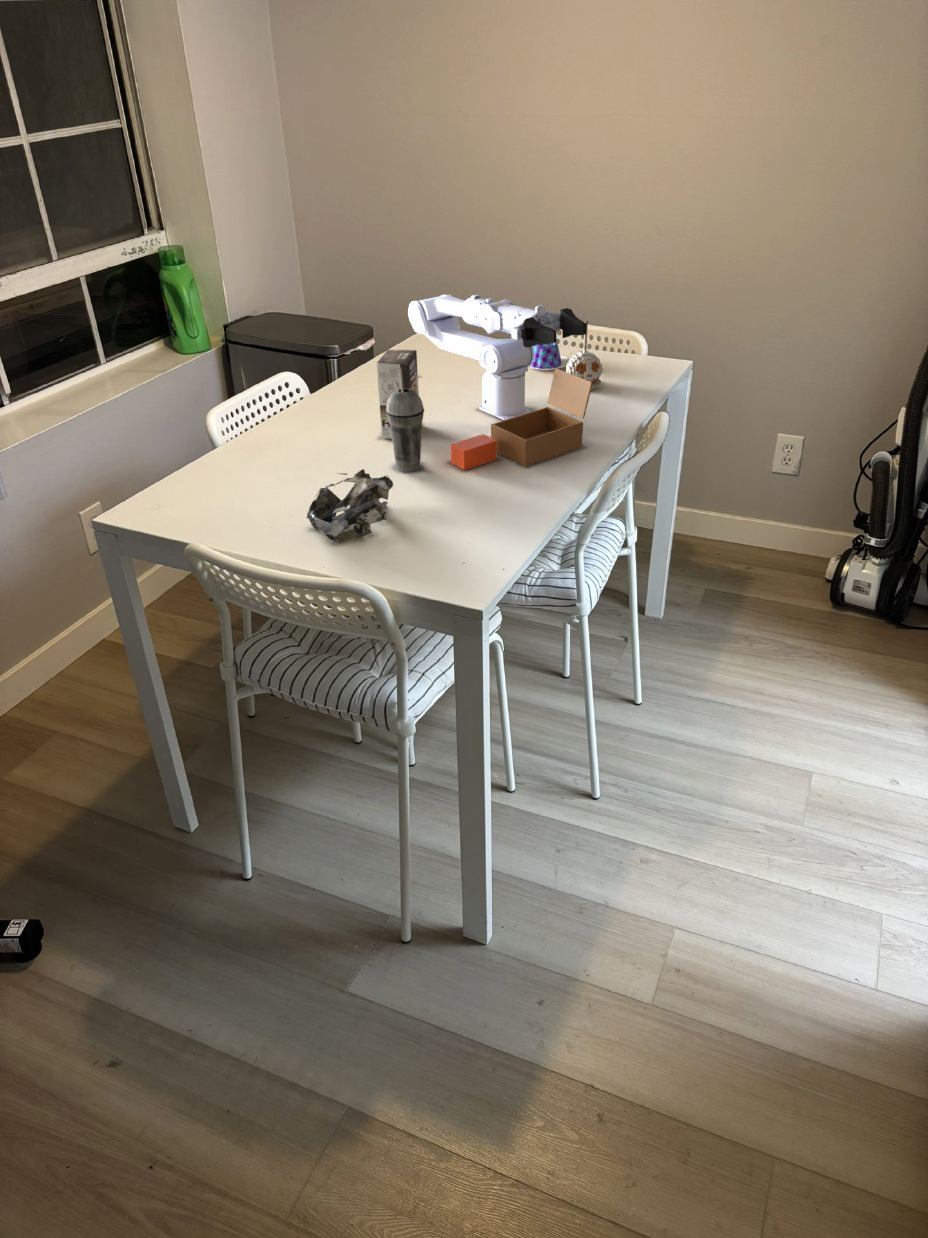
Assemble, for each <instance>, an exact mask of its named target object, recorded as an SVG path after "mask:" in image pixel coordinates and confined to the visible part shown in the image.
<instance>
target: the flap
mask: <svg viewBox="0 0 928 1238" xmlns="http://www.w3.org/2000/svg"><path fill="white" fill-rule="evenodd" d="M592 384H593V382H591V381H588V380H586V379H583V378H581V377H578V376H575V375H573V374H570V373H567V372H566V370H562V369H561V368H559V369H557V368H555V369H554V372H553V377H552V381H551V386H550V390H549V394H548V398H547V405H549V406H552V407H554V408H557V409H559V410H561V411H564V412H566V413H568V414H570V415H573V416H576V417H578V418H580V419H582V420H584V419H585V416H586V413H587V408H588V404H589V401H590V395H591V392H592V389H593V388H592ZM591 388H592V389H591Z"/></svg>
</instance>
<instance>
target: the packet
mask: <svg viewBox="0 0 928 1238" xmlns="http://www.w3.org/2000/svg"><path fill="white" fill-rule="evenodd" d="M497 459H498V453H497V441H496V440H494V439H492V438H491V436H488V435H486V434H484V433H481V434H479V435H475V436H472V437H468V438H466V439H463V440H459V441H457V442H453V443H450V463H451V464H452V465H454V466H455V467H458V468H459V469H461V470H464V471H466V470H467V471H468V470H469V469H473V468H475V467H479V466H482V465H484V464H488V463H490V462H493V461H497Z"/></svg>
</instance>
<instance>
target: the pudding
mask: <svg viewBox="0 0 928 1238" xmlns="http://www.w3.org/2000/svg"><path fill="white" fill-rule="evenodd" d="M532 347H533V350H534V358H533V362H532V364H531V365H530V366H528V369H532V370H538V371H539V370H541V371H551V370H555V368H557V369H562V368H565V367H567V363H569V359H570V358H568V357H566V356H564V355H561V354H560V348H559V344H558V342H555V343H550V344H537V345H535V346H532Z"/></svg>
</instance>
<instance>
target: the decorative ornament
mask: <svg viewBox="0 0 928 1238" xmlns="http://www.w3.org/2000/svg"><path fill="white" fill-rule="evenodd" d="M584 323H586V324H587V332H588V331H589V330H588V328H589V320H587V319H584ZM587 347H588V333H587V334H585V335H583V350H579V351H578V352H577V351H576V353H574V354H572V355H571V357H569V358H568V359H569V363H567V366H566V370H565V372H567V373H570V374H573V375H575V376H578V377H581V378H583V379H586V380H588V381H591V382H593V384H592V388H591V390H592V389H594V388H598V387H599V386H601V384H602V380H601V379H600V378H601V376H602V373H604V372H603V369H604V367H603V363H602V362H601V359H600V358H599V357H598V356H597V355H596V354H595V353H594V352H590V350H588V348H587Z"/></svg>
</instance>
